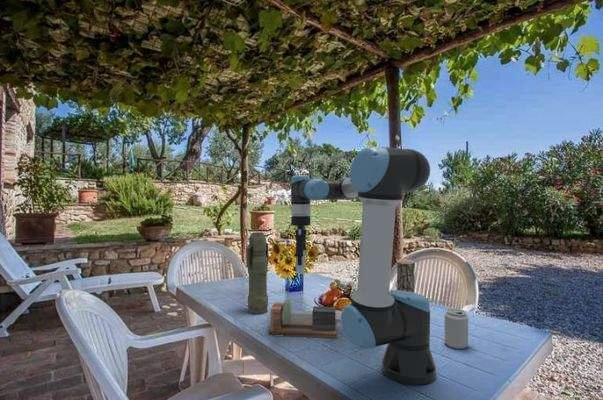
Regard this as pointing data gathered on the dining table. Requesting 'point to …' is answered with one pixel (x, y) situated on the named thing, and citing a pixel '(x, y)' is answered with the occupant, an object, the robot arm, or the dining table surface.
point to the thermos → (257, 273)
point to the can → (456, 328)
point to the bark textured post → (405, 275)
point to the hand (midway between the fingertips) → (301, 270)
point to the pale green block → (294, 314)
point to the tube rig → (305, 323)
